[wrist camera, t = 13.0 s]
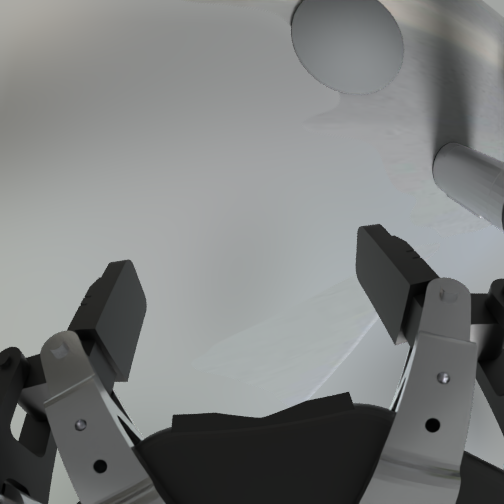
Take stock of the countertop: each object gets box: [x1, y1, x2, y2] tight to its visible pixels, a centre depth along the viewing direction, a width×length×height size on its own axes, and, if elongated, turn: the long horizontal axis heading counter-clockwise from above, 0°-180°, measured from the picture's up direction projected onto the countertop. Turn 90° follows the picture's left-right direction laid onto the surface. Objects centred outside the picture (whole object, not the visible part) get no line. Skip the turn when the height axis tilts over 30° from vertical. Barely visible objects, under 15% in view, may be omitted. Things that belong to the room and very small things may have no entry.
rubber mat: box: [291, 0, 404, 95], centre depth 33 cm, size 17×17×1 cm
